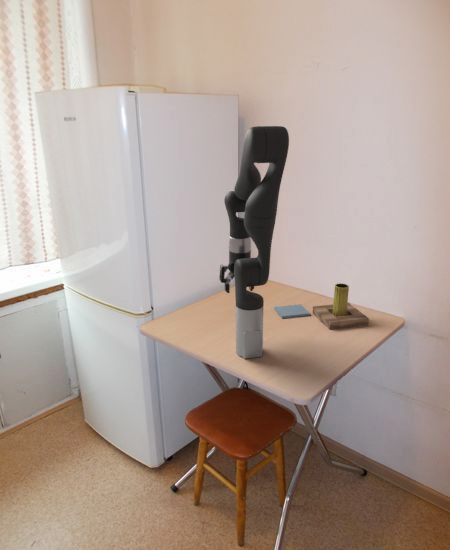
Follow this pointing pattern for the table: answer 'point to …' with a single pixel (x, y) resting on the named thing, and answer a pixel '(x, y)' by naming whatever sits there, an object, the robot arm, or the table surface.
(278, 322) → the table surface
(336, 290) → the vase
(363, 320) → the socket stand
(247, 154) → the robot arm
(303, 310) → the slate mat
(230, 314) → the table surface
